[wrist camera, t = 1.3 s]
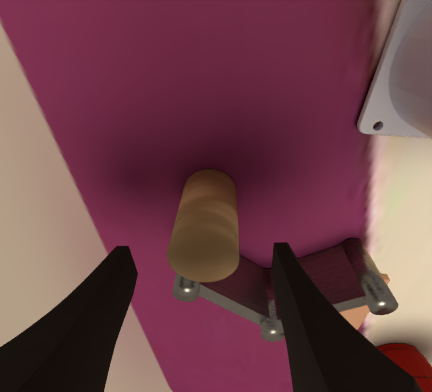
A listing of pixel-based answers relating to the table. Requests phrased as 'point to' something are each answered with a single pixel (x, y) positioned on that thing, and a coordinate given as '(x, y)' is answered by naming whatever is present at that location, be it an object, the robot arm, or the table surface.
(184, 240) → the oak dowel
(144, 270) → the table surface
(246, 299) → the bent rail
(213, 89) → the table surface
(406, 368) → the plastic cup
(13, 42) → the table surface
